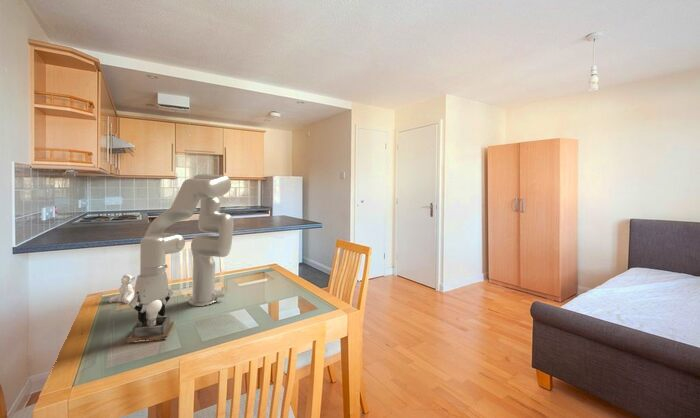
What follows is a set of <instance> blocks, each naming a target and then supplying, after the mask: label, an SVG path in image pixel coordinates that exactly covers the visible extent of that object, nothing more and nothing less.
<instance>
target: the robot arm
mask: <svg viewBox="0 0 700 418" xmlns="http://www.w3.org/2000/svg"><path fill="white" fill-rule="evenodd" d="M231 187H232V181H231V178H229V176H227V175H224V174H209V173H207V174H205V173H201V174H199V173H198V174H196V175H194V176H193V178H187V179H185V180H184V181H183V182H182V184H181V186H180V187H179V190H178V192H177V194H176V196H175V199H174V201H173V202H172V205H171V206H170V208H168V209H166V210H165V211H163V212H162V213H160V214H159V215H158V216H156V217H155V218H154V219H153V220H152V221H151V223H150V224H149V226H148V228H147V230H146V232H145V234H144V236H143V237H142V238H141V240H140V253H139V255H140V257H139V259H140V261H139V262H140V263H139V264H140V266H139V269H140V271H139V274H138V275H137V277H136V280H135V286H134V298H133V299H132V300H131V302H130V303H129V304H127V305H128V306H129V307H131V308H132V309H133V310H135V311H137V320H138V321H140V322H142V323H145V322H146V312H145V311H144V310H145V308H146V305H147V304H148V303H151V302H153V301H155V300H161V301H162V308H161V309H160V311H159V312H158V314H157V316H166V315H165V313H166V306H167V304H168V301H169V300H170V298H171V297H172V296H173V295H174V291H172V290H171V289H169V281H168V280H169V279H168V274H167V272H166V269H167V268H168V265H167V264H166V255H169V254H170V255H171V254H176V253H179V252H181V251H182V250H183V249H184V247H185V245H186V241H185V238H184V236H183V235H181V234H179V233H178V234H177V233H169V232H164V231H165V230H166V229H168V228H169V227H170V226H171V225H173V224H176V223H178V222H181V221H183V220H186V219H189V218H191V217H193V216H194V213H195V211H196V208H197V206H198V204H199V202H200V208H199V215H198V221H197V226H198V227H197V228H198V229H199V231H200V232H204V233H212V234H218V235H209V234H200V235H196V236H194V238H193V239H192V240H191V243H190V250H191V253H192V254H191V255H192V295H191V296H192V297H190V298H189V299H188V305H190V306H194V307H203V306H205V305H206V306H210V305H209V304H211V305H213V304H212V303H214V302H216V301H217V300H218V301H219V298H225V293H223V292H222V291H220V292H217V289H216V261H215V259H214V258H213V257H215V258H224V257H227V256H228V255H230V252H231V249H232V242H233V235H234V227H235V226H234V224H235V221H234V218H233V216H232V215H230V213H225V212H224V213H223V212H220V209H221V201H220V197H222V196H224V195H226V194H228V193H229V192H230V190H231ZM218 301H217V302H218ZM217 302H216V303H217ZM137 303H138V304H137ZM214 304H215V303H214ZM206 306H205V307H206Z"/></svg>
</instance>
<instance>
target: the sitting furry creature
mask: <svg viewBox="0 0 700 418" xmlns="http://www.w3.org/2000/svg"><path fill="white" fill-rule="evenodd" d="M135 279H136V277H135V276H133V275H132V274H131V275H130V274H123V276H122V278H121V285H120V286H119V288H118V290H119V294H116V295H112V296H111V297H110V298H108V302H109V303H112V304H113V303H124V304H125V305H128V304H129V303H130V302H131V300H132V299H133V298H134V291H135V289H133V285H132V283H133V281H135Z"/></svg>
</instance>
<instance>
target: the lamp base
mask: <svg viewBox="0 0 700 418" xmlns="http://www.w3.org/2000/svg"><path fill="white" fill-rule="evenodd" d="M170 317H171V316H170V315H165V316H160V315H157V317H156V325H154V326H151V327H149V326H147V323H148V321H147V317H146V322H145V323H142V322H140V321H139V320H138V321H137V322H136V323H135V325H134V326H133V327H132V329H131V333H130V335H129V336H128V337H127V339H126V344H129V343H128V342H134V341H139V340H145V341H146V340H149V342H154V341H153V340H159V341H161V340H160V339H165V338H167V337H169V336H170V334H171V332H172V330H173V327H174V325H175V322H174V321H170V319H171V318H170ZM167 339H168V338H167Z"/></svg>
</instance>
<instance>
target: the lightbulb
mask: <svg viewBox="0 0 700 418" xmlns="http://www.w3.org/2000/svg"><path fill="white" fill-rule="evenodd" d="M161 308H162V301H161V300H155V301H153V302H151V303H148V304H147V305H146V308H145V310H144V311H145V312H146V317H147V321H148V323H147V326H149V327H151V326H154V325H156V317H157V316H158V312H159V311H160V309H161Z"/></svg>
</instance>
